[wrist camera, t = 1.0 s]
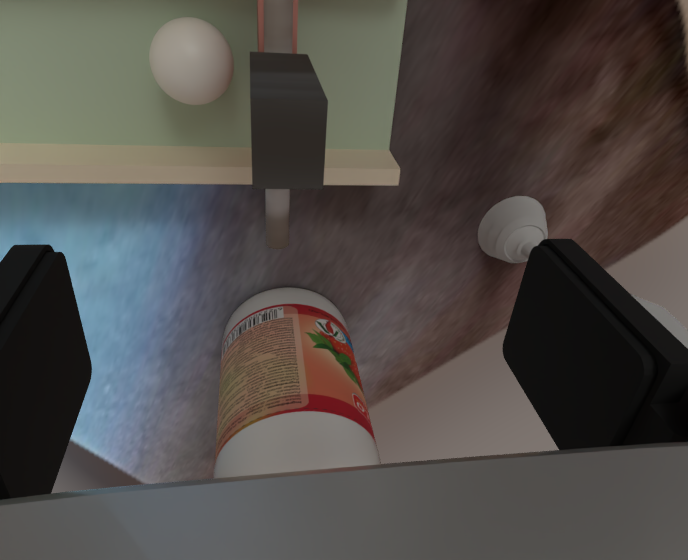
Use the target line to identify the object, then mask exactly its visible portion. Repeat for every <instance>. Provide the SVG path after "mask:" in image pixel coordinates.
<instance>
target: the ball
mask: <svg viewBox="0 0 688 560" xmlns="http://www.w3.org/2000/svg"><path fill="white" fill-rule="evenodd" d="M149 62H150V67H151V71H152V74H153V76H154V78H155V80H156V82H157V83H158V85H159V86H160V87H161V89H162V90H163V91H164V92H165V93H166V94H168V95H169V96H170V97H172V98H173V99H175V100H177V101H179V102H182V103H185V104H189V105H202V104H207V103H210V102H212V101H214V100H216V99H217V98H219V97H220V96H221V95H222V94H223V93H224V92H225V91H226V90H227V88H228V86H229V84H230V82H231V80H232V76H233V71H234V60H233V55H232V51H231V48H230V46H229V44H228V42H227V40H226V39H225V37H224V36H223V35H222V33H221V32H220V31H219V30H218V29H217V28H216V27H214V26H213V25H211V24H210V23H208V22H206V21H204V20H201V19H198V18H194V17H181V18H176V19H173V20H171V21H169V22H167V23H166V24H164V25H163V26H162V27H161V28H160V29H159V30H158V31H157V33H156V34H155V36H154V38H153V40H152V43H151V46H150V50H149Z"/></svg>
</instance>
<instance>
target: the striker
mask: <svg viewBox="0 0 688 560" xmlns="http://www.w3.org/2000/svg"><path fill="white" fill-rule="evenodd" d="M297 27H298V0H257V38H258V52H250V106H251V148H252V189H265V205H266V245H267V246H268V247H269V248H272V249H283V248H286V247H287V246H288V245H289V208H290V189H323V183H324V165H325V147H326V128H327V110H328V100H327V97H326V95H325V93H324V91H323V88H322V86H321V84H320V82H319V79H318V77H317V75H316V72H315V70H314V68H313V66H312V63H311V61H310V59H309V56H308V54H297Z"/></svg>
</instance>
